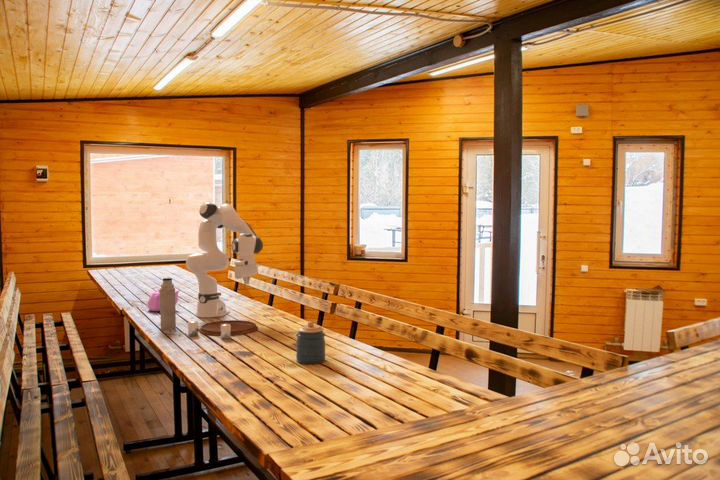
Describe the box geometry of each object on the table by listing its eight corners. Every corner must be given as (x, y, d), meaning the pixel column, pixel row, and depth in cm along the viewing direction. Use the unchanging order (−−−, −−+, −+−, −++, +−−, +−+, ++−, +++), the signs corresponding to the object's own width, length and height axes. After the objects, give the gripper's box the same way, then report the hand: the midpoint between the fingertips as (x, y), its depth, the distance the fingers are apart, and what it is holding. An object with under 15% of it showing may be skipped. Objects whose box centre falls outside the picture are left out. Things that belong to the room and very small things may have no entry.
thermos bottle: (164, 326, 317) (163, 277, 315) (178, 326, 316) (177, 277, 314) (158, 329, 309) (157, 279, 307) (172, 329, 308) (171, 279, 307)
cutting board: (243, 338, 290) (243, 333, 290) (187, 335, 297) (187, 330, 297) (266, 325, 321) (266, 321, 321) (215, 323, 328) (215, 318, 328)
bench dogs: (192, 333, 298) (192, 320, 298) (232, 337, 290) (232, 324, 289) (186, 335, 294) (186, 322, 293) (227, 339, 285) (227, 326, 285)
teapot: (175, 313, 356) (175, 291, 355) (141, 313, 356) (141, 291, 355) (186, 307, 377) (186, 286, 377) (154, 307, 378) (154, 286, 377)
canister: (310, 355, 256) (310, 317, 255) (331, 360, 248) (331, 320, 247) (290, 361, 246) (289, 321, 245) (311, 366, 238) (311, 325, 237)
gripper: (251, 258, 337) (251, 281, 338) (232, 262, 318) (232, 286, 319) (260, 259, 335) (260, 282, 336) (242, 263, 316) (242, 287, 317)
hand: (246, 284), depth 327 cm, fingers closed
